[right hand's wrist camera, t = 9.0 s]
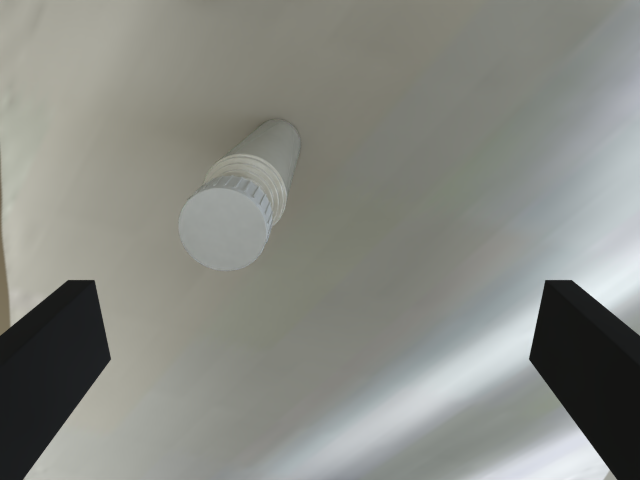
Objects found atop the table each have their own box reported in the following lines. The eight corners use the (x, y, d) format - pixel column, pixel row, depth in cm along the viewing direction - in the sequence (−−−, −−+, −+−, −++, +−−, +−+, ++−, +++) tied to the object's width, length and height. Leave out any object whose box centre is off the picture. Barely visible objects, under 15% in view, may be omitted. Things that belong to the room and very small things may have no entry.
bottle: (254, 117, 42) (168, 171, 18) (302, 120, 42) (280, 179, 18) (253, 165, 43) (173, 272, 20) (299, 168, 44) (275, 279, 20)
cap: (190, 171, 20) (174, 183, 18) (275, 177, 20) (269, 190, 18) (193, 249, 21) (178, 269, 19) (272, 254, 22) (266, 275, 19)
